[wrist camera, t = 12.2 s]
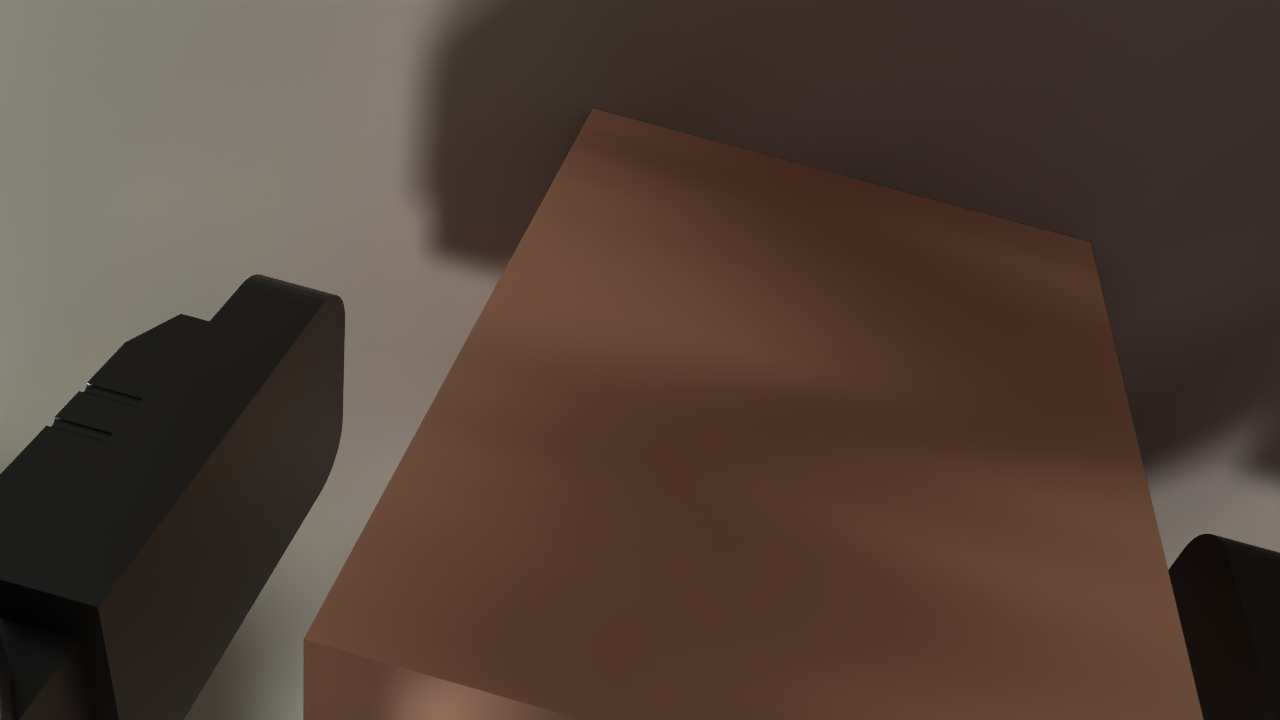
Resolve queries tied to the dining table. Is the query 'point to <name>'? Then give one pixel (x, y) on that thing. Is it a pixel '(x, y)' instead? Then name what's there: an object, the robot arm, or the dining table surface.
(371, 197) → the dining table surface
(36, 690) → the robot arm
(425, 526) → the brown block
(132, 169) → the dining table surface
